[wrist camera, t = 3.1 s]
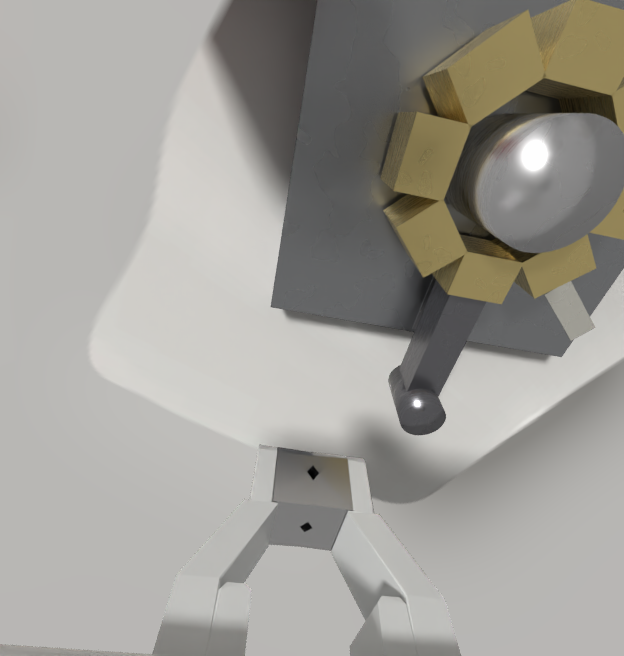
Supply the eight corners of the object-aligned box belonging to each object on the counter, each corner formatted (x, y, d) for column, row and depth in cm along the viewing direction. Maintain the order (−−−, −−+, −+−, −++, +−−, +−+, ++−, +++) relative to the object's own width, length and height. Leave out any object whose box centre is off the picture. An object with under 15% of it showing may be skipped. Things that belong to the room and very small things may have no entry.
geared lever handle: (431, -6, 13) (469, -45, 10) (674, 60, 14) (779, 45, 11) (324, 379, 22) (326, 422, 19) (473, 402, 23) (499, 446, 20)
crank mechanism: (344, -168, 12) (376, -436, 6) (795, -25, 14) (1149, -127, 8) (273, 291, 21) (259, 360, 15) (552, 340, 23) (636, 418, 17)
